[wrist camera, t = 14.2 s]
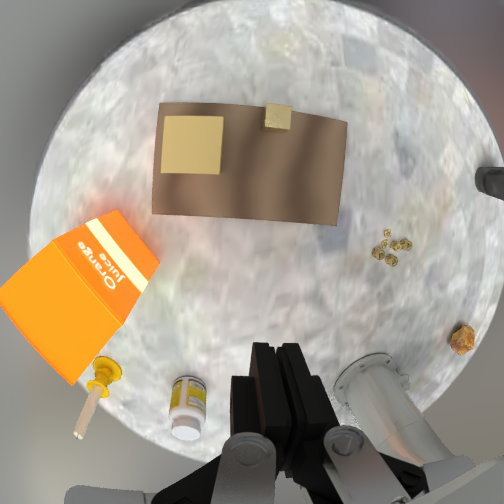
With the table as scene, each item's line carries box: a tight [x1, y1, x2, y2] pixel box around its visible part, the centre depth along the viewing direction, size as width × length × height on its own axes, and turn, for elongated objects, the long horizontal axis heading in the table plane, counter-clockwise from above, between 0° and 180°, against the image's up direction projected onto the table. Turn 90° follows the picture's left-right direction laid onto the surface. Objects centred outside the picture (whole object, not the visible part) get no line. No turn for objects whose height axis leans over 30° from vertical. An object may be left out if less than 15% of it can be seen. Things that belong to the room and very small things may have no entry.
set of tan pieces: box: [372, 229, 412, 266], centre depth 35 cm, size 5×5×2 cm
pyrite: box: [450, 325, 475, 355], centre depth 41 cm, size 5×7×4 cm
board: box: [152, 103, 347, 226], centre depth 30 cm, size 22×13×1 cm, turn 85°
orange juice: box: [0, 210, 160, 386], centre depth 22 cm, size 8×9×20 cm
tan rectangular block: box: [161, 116, 224, 174], centre depth 25 cm, size 5×5×7 cm
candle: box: [74, 357, 122, 439], centre depth 30 cm, size 5×5×16 cm
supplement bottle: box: [169, 377, 206, 441], centre depth 35 cm, size 5×5×10 cm
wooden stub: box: [261, 103, 292, 133], centre depth 26 cm, size 3×3×3 cm
